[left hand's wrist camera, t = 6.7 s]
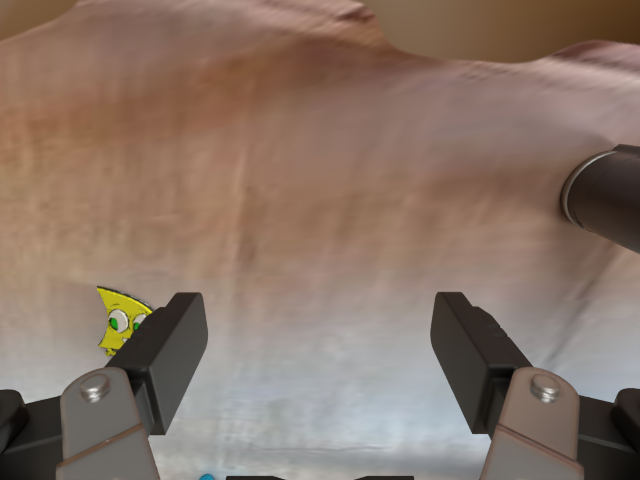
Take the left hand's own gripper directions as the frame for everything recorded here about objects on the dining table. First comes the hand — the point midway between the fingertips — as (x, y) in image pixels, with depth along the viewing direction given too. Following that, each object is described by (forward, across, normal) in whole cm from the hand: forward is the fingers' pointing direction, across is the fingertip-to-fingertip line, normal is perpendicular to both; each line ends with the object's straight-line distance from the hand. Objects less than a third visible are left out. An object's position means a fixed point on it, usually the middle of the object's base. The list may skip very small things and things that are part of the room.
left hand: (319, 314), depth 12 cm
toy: (+30, -26, -24) cm, 47 cm away
